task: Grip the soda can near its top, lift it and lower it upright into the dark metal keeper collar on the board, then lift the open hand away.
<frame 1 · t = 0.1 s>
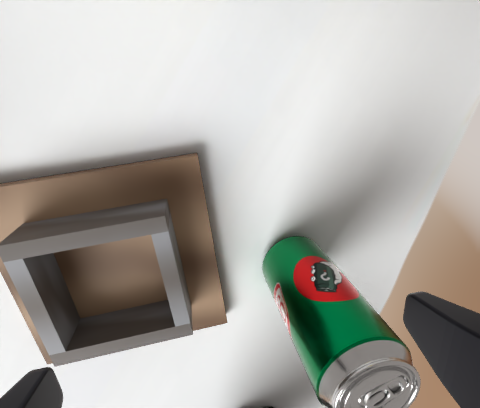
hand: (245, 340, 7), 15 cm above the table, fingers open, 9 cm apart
keeper board: (119, 261, 22), on the table
soda can: (289, 259, 25), on the table
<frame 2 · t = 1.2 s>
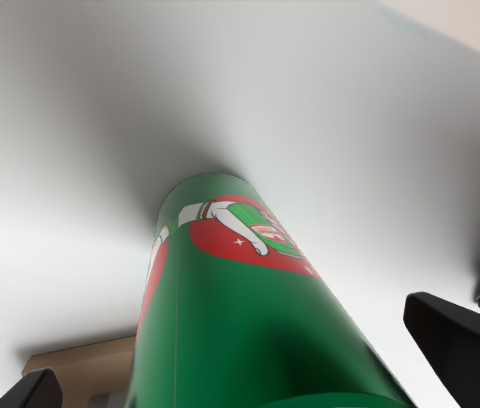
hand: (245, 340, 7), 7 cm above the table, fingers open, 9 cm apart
soda can: (211, 218, 15), on the table
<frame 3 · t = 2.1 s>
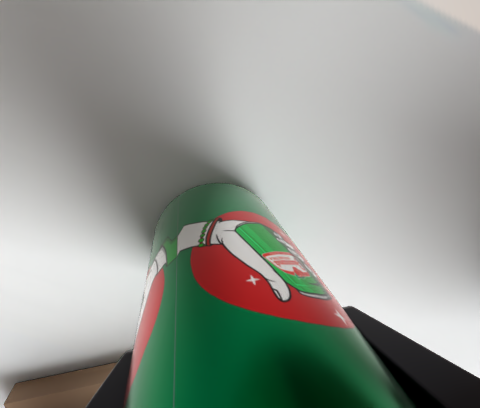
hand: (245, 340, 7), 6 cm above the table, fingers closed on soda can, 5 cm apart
soda can: (214, 232, 13), on the table, touching gripper
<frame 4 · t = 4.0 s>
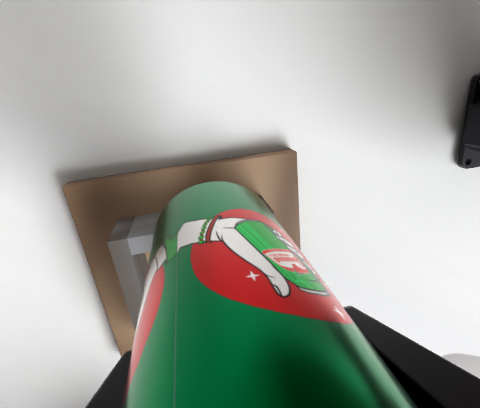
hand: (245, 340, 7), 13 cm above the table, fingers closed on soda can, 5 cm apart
keeper board: (202, 259, 21), on the table
soda can: (214, 230, 13), point 7 cm above the table, touching gripper
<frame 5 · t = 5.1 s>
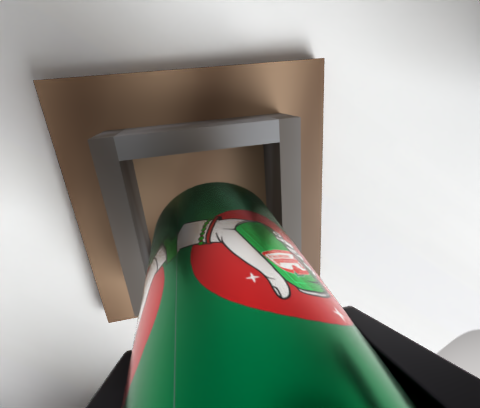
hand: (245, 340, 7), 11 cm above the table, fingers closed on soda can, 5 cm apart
keeper board: (205, 196, 18), on the table
soda can: (214, 231, 13), point 5 cm above the table, touching gripper
when the fingers open (9 cm above the table, at t = 5.8 s): soda can drops 2 cm, resting on keeper board.
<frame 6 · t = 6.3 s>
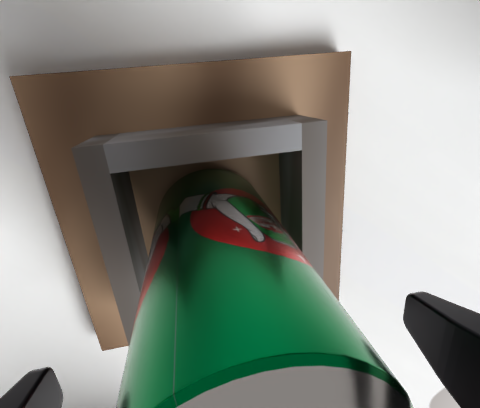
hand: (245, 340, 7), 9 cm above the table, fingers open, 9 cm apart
keeper board: (211, 209, 16), on the table
soda can: (210, 213, 15), point 1 cm above the table, touching keeper board
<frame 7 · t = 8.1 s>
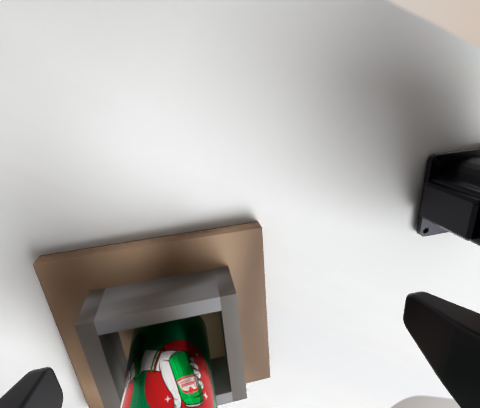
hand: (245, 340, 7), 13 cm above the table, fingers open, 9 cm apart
keeper board: (172, 320, 22), on the table
soda can: (170, 327, 21), point 1 cm above the table, touching keeper board
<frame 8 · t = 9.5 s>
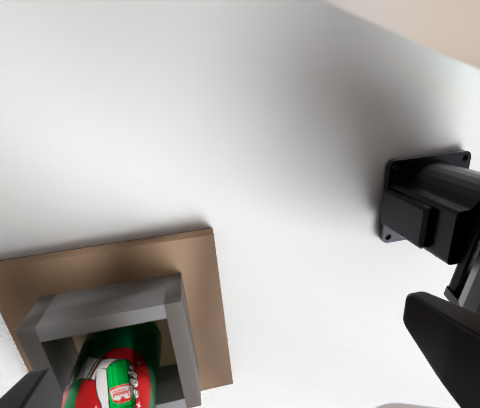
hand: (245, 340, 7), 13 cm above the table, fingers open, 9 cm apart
keeper board: (130, 326, 22), on the table
soda can: (126, 333, 21), point 1 cm above the table, touching keeper board
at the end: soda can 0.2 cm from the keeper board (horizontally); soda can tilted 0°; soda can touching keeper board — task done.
